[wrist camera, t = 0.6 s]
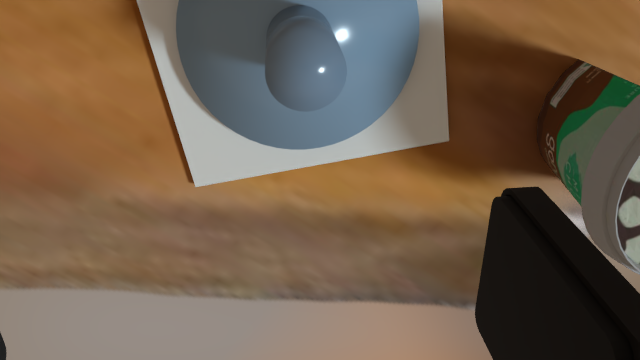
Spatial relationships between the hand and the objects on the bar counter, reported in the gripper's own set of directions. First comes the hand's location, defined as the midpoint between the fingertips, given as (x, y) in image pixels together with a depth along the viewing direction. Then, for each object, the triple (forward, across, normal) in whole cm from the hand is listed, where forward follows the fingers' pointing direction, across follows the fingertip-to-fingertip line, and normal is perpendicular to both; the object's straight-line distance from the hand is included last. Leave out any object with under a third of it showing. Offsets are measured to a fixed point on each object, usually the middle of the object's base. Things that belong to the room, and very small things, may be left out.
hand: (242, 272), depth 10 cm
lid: (+22, -2, +1) cm, 22 cm away
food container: (+22, -20, +8) cm, 31 cm away
